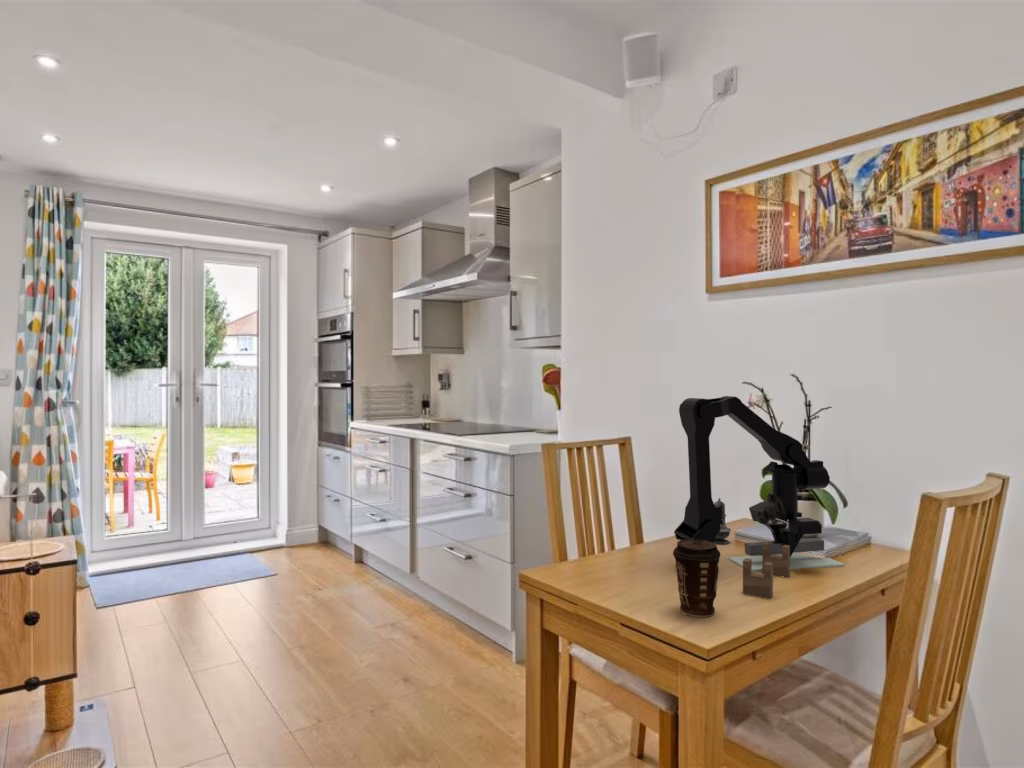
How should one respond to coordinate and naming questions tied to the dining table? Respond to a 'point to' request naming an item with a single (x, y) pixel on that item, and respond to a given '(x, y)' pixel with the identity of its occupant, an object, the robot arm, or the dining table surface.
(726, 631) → the dining table surface
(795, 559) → the sage mat
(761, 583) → the walnut cradles
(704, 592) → the coffee cup
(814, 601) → the dining table surface
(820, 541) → the black rail
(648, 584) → the dining table surface
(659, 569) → the dining table surface
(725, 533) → the dark grey chess piece
